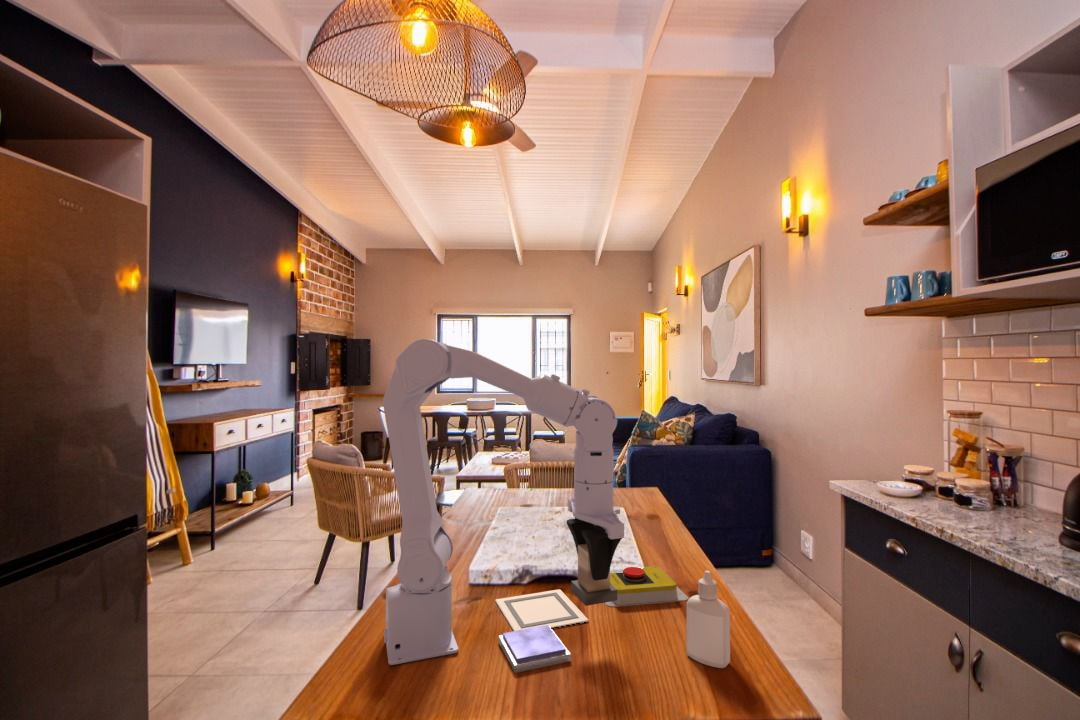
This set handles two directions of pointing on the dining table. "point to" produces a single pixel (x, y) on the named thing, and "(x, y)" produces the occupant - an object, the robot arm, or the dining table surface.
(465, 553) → the dining table surface
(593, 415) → the robot arm
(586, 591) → the stamp
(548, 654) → the ink pad
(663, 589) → the emergency button
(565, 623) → the marked card
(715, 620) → the eye dropper bottle
